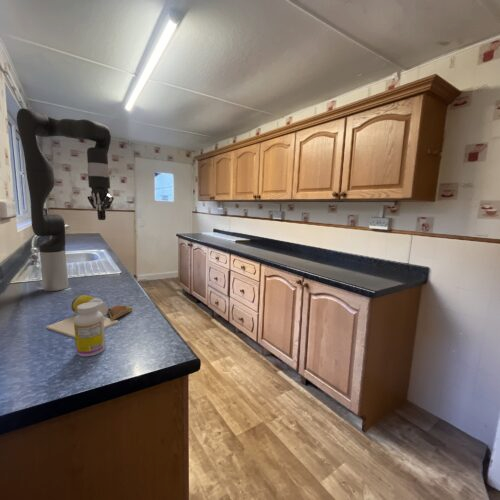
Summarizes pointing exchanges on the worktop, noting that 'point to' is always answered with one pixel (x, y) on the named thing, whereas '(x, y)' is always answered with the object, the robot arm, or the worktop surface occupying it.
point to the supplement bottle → (89, 330)
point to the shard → (118, 311)
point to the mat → (68, 326)
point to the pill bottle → (85, 299)
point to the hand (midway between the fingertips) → (101, 219)
